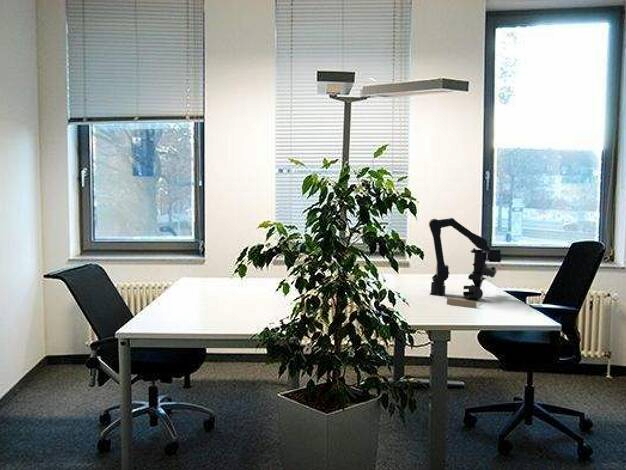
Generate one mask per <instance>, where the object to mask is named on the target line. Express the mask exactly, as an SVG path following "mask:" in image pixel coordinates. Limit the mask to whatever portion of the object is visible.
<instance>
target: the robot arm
mask: <svg viewBox="0 0 626 470" xmlns="http://www.w3.org/2000/svg"><path fill="white" fill-rule="evenodd" d="M428 227H429V229H430V232H431V235H432V239H433V240H432V241H433V247H434V251H435V259H436V266H435V267H436V268H435V271H436V273H435V274H434V275H432V277H431V280H432V281H431V283H430V284H431V285H430V286H431V287H430V293H429V295H432V296H444V295H445V294H446V284H445V281H447V280H448V278H449V275H451V274H450V272H449V265H448V264H446V263H445V259H444V257H445V256H444V253H443V245H442V239H441V238H442V237H441V234H442V229H443V228H447V227H452V228H453V229H454V230H456V231H457V232H459V233H460V234H462V235H463V236H464V237H466V238H467V239H468V240H469V242H471V243H472V244H473V245H474V246H475V247H476V248H477V249H476V248H475V247H474V248H472V249H471V250H470V252H471V254H474V255H473V257H474V258H473V263H472V266H473V271H472V272H471V273H470V274H468V280H469V281H470V280H471V281H472V282H473V285H475V286H476V287H478V288H480V289H482V288H481V287H482V284H483V281H485V280H486V279H487V278H486V277H490V278H492V279H493V278H495V276H496V274H497V269H496V267H495V266H492V267H489V266H488V264H487V263H486V261H488V263H501V261H502V253H501V249H500V248H496V249H494V248H491V249H490V247H489V246H488V241H487V239H486V238H484V237H483V236H480V235H478V234H475V233H474V232H472V231H470V230H469V229H468V228H467V227H465V226H464V225H462V224H461V223H459V222H458V221H457V220H456V219H455V218H453V217H448V218H442V219H437V218H431V219H430V220H429V221H428ZM483 250H484V251H483ZM484 276H486V277H484Z"/></svg>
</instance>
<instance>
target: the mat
mask: <svg viewBox="0 0 626 470" xmlns="http://www.w3.org/2000/svg"><path fill="white" fill-rule="evenodd" d="M484 303H485V302H482V301H469V300H466V299H459V298H452V297H447V298H446V305H450V306H457V307H458V306H459V307H465V308H473V309H477V308H478V307H480V306H482V305H483V304H484Z"/></svg>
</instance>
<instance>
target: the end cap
mask: <svg viewBox="0 0 626 470" xmlns="http://www.w3.org/2000/svg"><path fill="white" fill-rule="evenodd" d="M463 290H467V291H463V292H462V295H463V296H462V297H463V298H464V300H469V301H477V302H479V300H480V299H482V298H483V295H484V292H483V290H482V288H478V287H476V286H475V285H474V284H472V283H471V284H470V285H463Z"/></svg>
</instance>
